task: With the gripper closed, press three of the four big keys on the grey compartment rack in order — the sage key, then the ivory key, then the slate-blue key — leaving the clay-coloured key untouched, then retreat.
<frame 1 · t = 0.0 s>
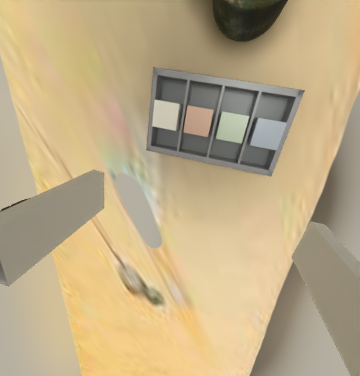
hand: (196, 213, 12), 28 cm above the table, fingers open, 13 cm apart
key ivory: (167, 115, 33), point 4 cm above the table, slide at 0.0 cm
key sage: (231, 127, 32), point 4 cm above the table, slide at 0.0 cm
mug: (236, 1, 29), on the table
key slate: (266, 133, 31), point 4 cm above the table, slide at 0.0 cm
grey compartment rack: (215, 123, 35), on the table
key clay: (198, 121, 32), point 4 cm above the table, slide at 0.0 cm
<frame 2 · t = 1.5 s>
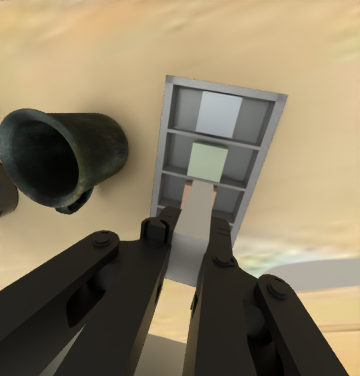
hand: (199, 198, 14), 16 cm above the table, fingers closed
key sage: (207, 160, 25), point 4 cm above the table, slide at 0.0 cm
mug: (102, 154, 32), on the table
key slate: (217, 115, 22), point 4 cm above the table, slide at 0.0 cm
grey compartment rack: (204, 172, 29), on the table
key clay: (198, 198, 27), point 4 cm above the table, slide at 0.0 cm
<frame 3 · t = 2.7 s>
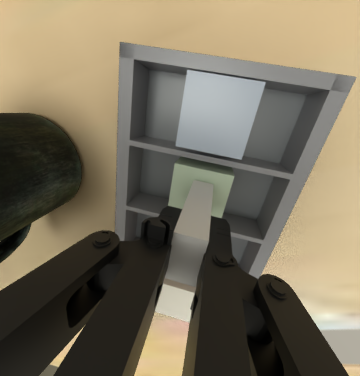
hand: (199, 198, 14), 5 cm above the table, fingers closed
key ivory: (175, 292, 19), point 4 cm above the table, slide at 0.0 cm
key sage: (199, 190, 15), point 3 cm above the table, slide at 0.8 cm
mug: (48, 174, 22), on the table
key slate: (216, 117, 12), point 4 cm above the table, slide at 0.0 cm
grey compartment rack: (196, 203, 19), on the table
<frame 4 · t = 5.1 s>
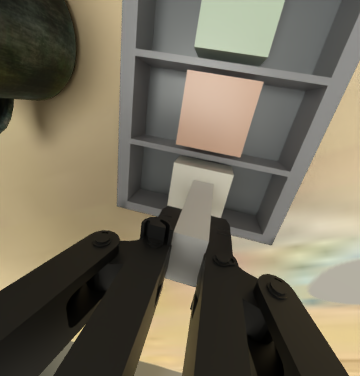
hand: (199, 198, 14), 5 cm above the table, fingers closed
key ivory: (198, 189, 15), point 4 cm above the table, slide at 0.4 cm, touching gripper
key sage: (238, 14, 11), point 3 cm above the table, slide at 1.1 cm
mug: (34, 59, 17), on the table
grey compartment rack: (224, 77, 15), on the table
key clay: (215, 115, 12), point 4 cm above the table, slide at 0.0 cm
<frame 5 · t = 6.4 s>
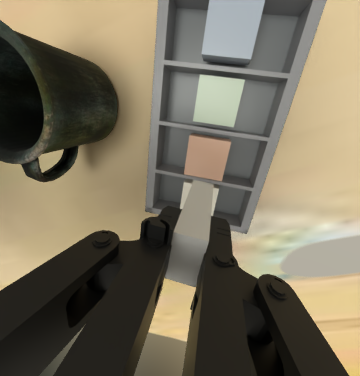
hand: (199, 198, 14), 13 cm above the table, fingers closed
key ivory: (199, 197, 24), point 3 cm above the table, slide at 1.1 cm
key sage: (217, 102, 20), point 3 cm above the table, slide at 1.1 cm
mug: (87, 116, 27), on the table
key slate: (230, 31, 16), point 4 cm above the table, slide at 0.0 cm
grey compartment rack: (212, 128, 24), on the table
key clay: (206, 156, 21), point 4 cm above the table, slide at 0.0 cm
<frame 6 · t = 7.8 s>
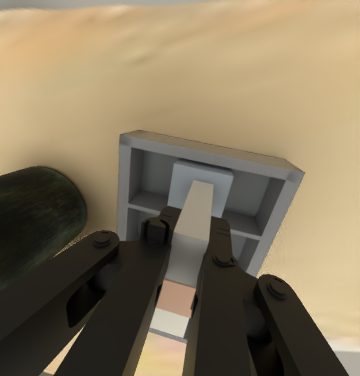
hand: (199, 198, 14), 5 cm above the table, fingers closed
key ivory: (170, 312, 23), point 3 cm above the table, slide at 1.1 cm
mug: (56, 213, 25), on the table
key slate: (198, 190, 15), point 4 cm above the table, slide at 0.3 cm, touching gripper
grey compartment rack: (186, 243, 22), on the table
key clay: (176, 288, 20), point 4 cm above the table, slide at 0.0 cm
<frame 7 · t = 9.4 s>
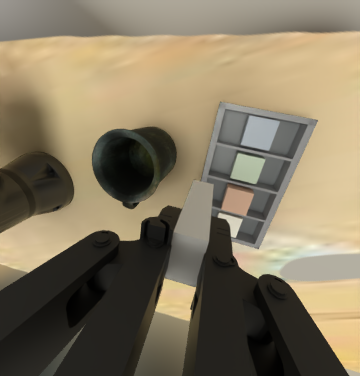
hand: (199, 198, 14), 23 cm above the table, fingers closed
key ivory: (227, 222, 36), point 3 cm above the table, slide at 1.1 cm
key sage: (246, 167, 32), point 3 cm above the table, slide at 1.1 cm
mug: (152, 160, 38), on the table
key slate: (258, 132, 29), point 3 cm above the table, slide at 1.1 cm
grey compartment rack: (240, 177, 35), on the table
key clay: (236, 199, 33), point 4 cm above the table, slide at 0.0 cm
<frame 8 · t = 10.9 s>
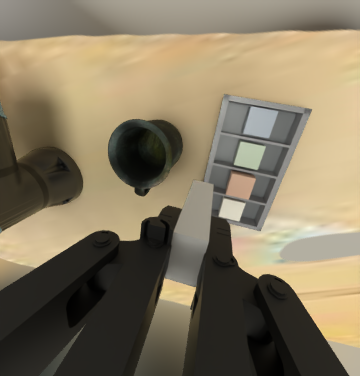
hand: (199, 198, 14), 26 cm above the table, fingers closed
key ivory: (231, 207, 39), point 3 cm above the table, slide at 1.1 cm
key sage: (248, 154, 34), point 3 cm above the table, slide at 1.1 cm
mug: (159, 152, 41), on the table
key slate: (258, 122, 32), point 3 cm above the table, slide at 1.1 cm
grey compartment rack: (242, 165, 38), on the table
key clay: (239, 184, 36), point 4 cm above the table, slide at 0.0 cm
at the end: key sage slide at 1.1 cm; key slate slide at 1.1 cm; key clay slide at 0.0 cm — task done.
